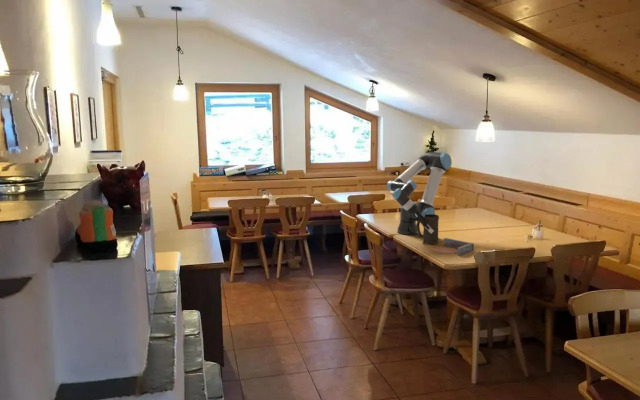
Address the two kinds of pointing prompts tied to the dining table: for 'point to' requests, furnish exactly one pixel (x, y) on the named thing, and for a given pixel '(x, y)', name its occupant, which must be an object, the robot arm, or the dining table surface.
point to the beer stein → (427, 236)
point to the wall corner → (459, 246)
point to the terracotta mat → (445, 250)
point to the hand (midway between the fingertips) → (432, 230)
